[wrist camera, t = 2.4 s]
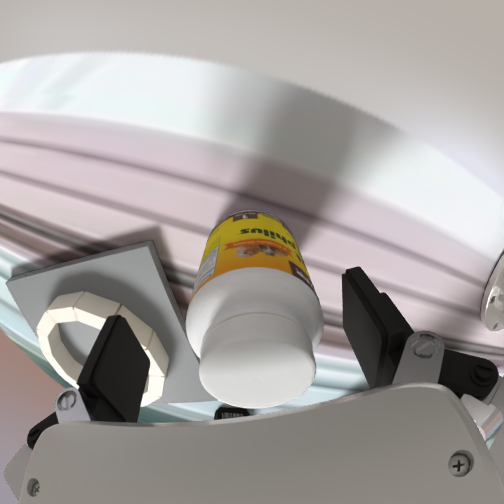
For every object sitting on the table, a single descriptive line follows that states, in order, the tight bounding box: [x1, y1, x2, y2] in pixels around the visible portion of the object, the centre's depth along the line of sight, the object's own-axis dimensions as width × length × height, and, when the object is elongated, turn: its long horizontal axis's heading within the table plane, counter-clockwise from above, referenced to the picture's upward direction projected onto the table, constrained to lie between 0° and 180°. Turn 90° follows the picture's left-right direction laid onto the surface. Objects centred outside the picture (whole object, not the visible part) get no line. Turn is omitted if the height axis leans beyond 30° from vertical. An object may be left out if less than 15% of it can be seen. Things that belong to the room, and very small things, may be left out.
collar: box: [6, 240, 218, 407], centre depth 20 cm, size 16×16×3 cm
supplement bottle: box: [186, 210, 324, 409], centre depth 13 cm, size 6×6×10 cm
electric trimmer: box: [214, 407, 250, 420], centre depth 28 cm, size 4×16×3 cm, turn 175°
